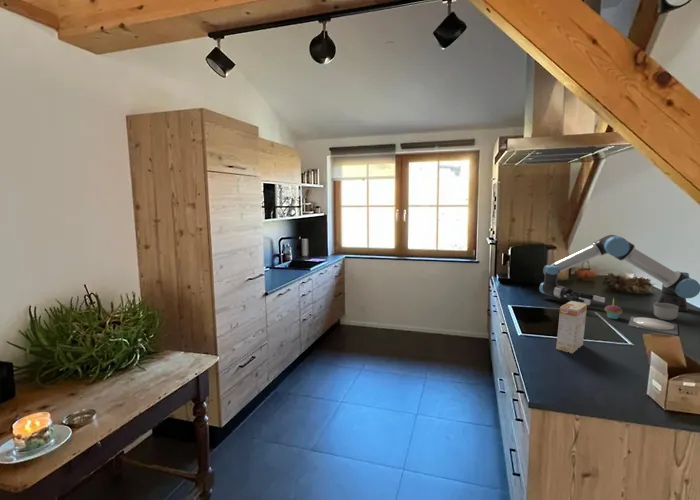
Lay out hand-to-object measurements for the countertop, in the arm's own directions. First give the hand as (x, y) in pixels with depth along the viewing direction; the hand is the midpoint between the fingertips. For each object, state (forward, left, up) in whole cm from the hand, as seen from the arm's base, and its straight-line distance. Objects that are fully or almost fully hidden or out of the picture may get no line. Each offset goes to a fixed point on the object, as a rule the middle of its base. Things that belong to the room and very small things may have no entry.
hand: (597, 301), depth 223 cm
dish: (+6, +26, -7) cm, 28 cm away
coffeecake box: (+70, -2, -7) cm, 70 cm away
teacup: (-16, +30, -7) cm, 35 cm away
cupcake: (+4, +8, -7) cm, 12 cm away
